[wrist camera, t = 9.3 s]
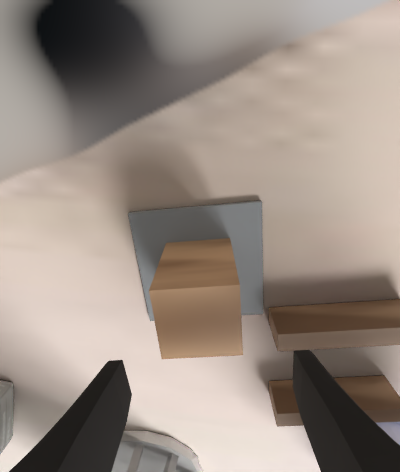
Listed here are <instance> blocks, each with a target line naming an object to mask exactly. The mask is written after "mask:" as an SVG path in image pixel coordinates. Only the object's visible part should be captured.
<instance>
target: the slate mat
mask: <svg viewBox="0 0 400 472" xmlns="http://www.w3.org/2000/svg"><path fill="white" fill-rule="evenodd" d="M128 217H129V221H130V226H131V231H132V236H133V241H134V246H135V250H136V255H137V260H138V265H139V270H140V275H141V279H142V284H143V289H144V294H145V299H146V304H147V308H148V313H149V318H150V321H155V320H154V315H153V310H152V304H151V299H150V294H149V289H150V286H151V283H152V281H153V278H154V275H155V272H156V270H157V267H158V264H159V261H160V259H161V256H162V253H163V250H164V248H165V245H166V243H171V242H184V241H198V240H212V239H225V238H230V240H231V245H232V249H233V254H234V259H235V264H236V269H237V274H238V278H239V283H240V301H241V315H253V314H263V250H262V201H261V200H260V201H248V202H237V203H226V204H215V205H203V206H192V207H181V208H170V209H158V210H147V211H136V212H129V213H128Z"/></svg>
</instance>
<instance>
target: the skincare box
mask: <svg viewBox="0 0 400 472" xmlns="http://www.w3.org/2000/svg"><path fill="white" fill-rule="evenodd" d="M13 407H14V396H13V383H12V382H7V381H3V380H0V454H1V453H2V451H3V450H4V449H5V447H6V446H7V444H8V443H9V442H10V440H11V438H12V436H13V430H12V426H13Z"/></svg>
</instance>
